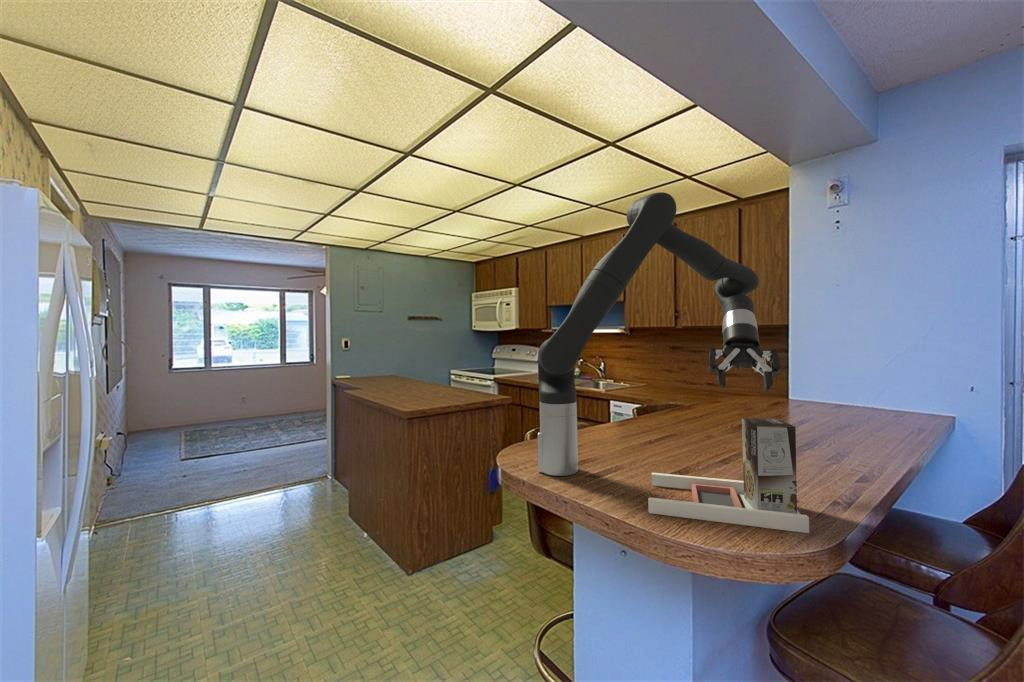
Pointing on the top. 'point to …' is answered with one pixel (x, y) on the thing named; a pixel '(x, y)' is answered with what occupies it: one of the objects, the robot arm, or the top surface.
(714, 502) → the frame
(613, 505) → the top surface
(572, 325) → the robot arm
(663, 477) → the walled lane
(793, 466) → the coffee box
